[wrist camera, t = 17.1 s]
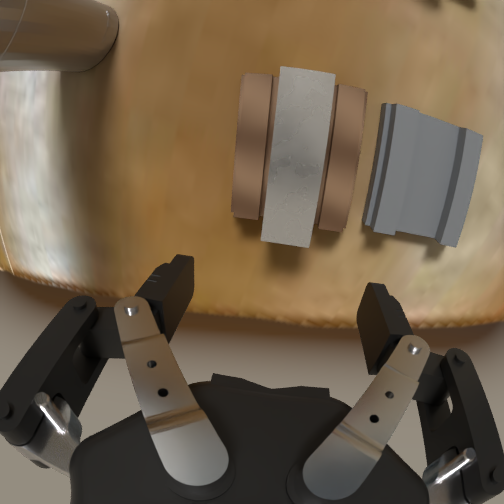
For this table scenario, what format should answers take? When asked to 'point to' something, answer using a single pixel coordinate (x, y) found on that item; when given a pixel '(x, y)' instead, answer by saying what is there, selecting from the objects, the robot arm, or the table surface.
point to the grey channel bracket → (421, 175)
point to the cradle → (260, 144)
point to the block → (297, 155)
